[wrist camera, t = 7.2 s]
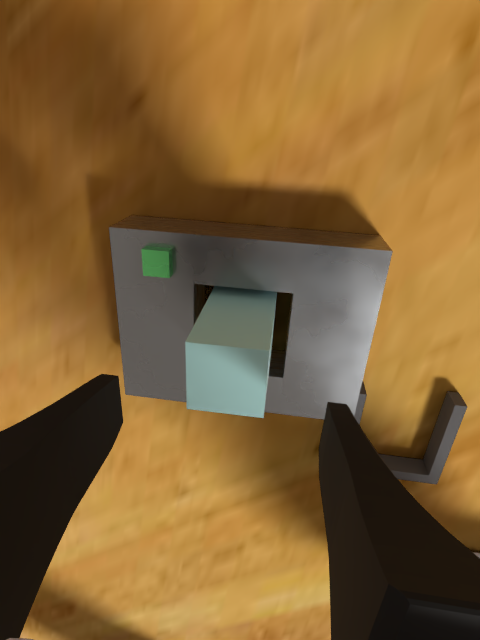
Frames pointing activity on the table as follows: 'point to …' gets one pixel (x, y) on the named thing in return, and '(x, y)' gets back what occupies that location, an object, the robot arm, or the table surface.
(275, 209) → the table surface
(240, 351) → the plug
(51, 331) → the table surface
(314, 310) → the port panel
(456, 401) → the holster
